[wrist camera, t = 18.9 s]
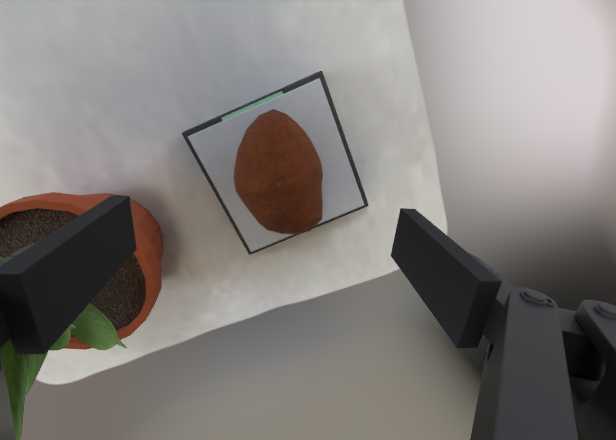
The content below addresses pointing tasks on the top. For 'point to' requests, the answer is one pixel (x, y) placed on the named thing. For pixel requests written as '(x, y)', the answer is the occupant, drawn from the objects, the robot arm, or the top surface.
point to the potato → (279, 174)
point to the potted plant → (106, 304)
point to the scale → (320, 129)
